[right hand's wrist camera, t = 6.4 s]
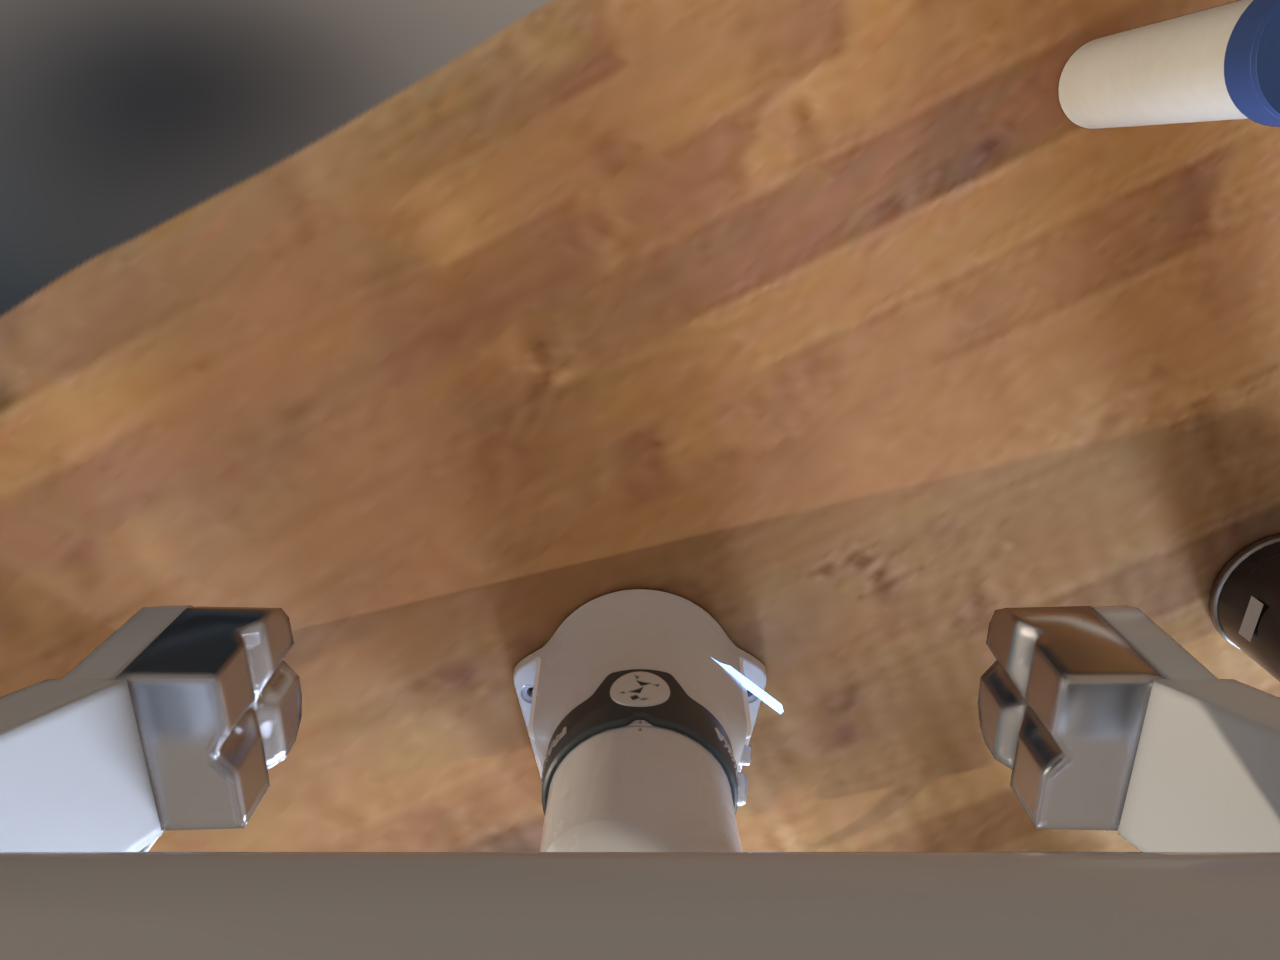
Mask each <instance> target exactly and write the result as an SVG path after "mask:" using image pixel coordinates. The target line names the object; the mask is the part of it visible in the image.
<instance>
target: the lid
mask: <svg viewBox="0 0 1280 960" xmlns="http://www.w3.org/2000/svg"><path fill="white" fill-rule="evenodd" d="M1224 78H1225V84H1226V88H1227V91H1228V94H1229V96H1230V98H1231V100H1232V102H1233V103H1234V105H1235V106H1236V107H1237V109H1238V110H1239V111H1240V112H1241V113H1242V114H1243V115H1245V116H1246V117H1247V118H1249V119H1251V120H1252V121H1254V122H1257V123H1259V124H1262V125H1267V126H1274V127H1280V0H1253V1H1252V2H1251V3H1250V5H1249V6H1248V7H1247V8H1246V9H1245V11H1244V12H1243V13H1242V15H1241V16H1240V18H1239V20H1238V21H1237V23H1236V25H1235V27H1234V29H1233V31H1232V33H1231V35H1230V38H1229V41H1228V44H1227V48H1226V52H1225V58H1224Z"/></svg>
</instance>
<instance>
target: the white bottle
mask: <svg viewBox="0 0 1280 960" xmlns="http://www.w3.org/2000/svg"><path fill="white" fill-rule="evenodd" d="M1252 1H1253V0H1241V1H1237V2H1233V3H1229V4H1226V5H1222V6H1218V7H1214V8H1210V9H1207V10H1203V11H1199V12H1195V13H1192V14H1188V15H1184V16H1180V17H1177V18H1173V19H1169V20H1165V21H1161V22H1158V23H1154V24H1150V25H1146V26H1143V27H1139V28H1135V29H1131V30H1128V31H1124V32H1120V33H1116V34H1112V35H1109V36H1105V37H1101V38H1097V39H1094V40H1092V41H1090V42H1088V43H1086V44H1084V45H1083V46H1081V47H1080V48H1079V49H1078V50H1077V51H1076V52H1075V53H1074V54H1073V55H1072V56H1071V57H1070V59H1069V60H1068V61H1067V63H1066V65H1065V67H1064V69H1063V71H1062V74H1061V77H1060V81H1059V89H1058V93H1059V101H1060V104H1061V107H1062V109H1063V111H1064V113H1065V115H1066V116H1067V117H1068V118H1069V119H1070V120H1071V121H1072V122H1073V123H1075V124H1077V125H1078V126H1081V127H1084V128H1088V129H1100V128H1115V127H1130V126H1144V125H1159V124H1174V123H1188V122H1203V121H1218V120H1232V119H1247V117H1246V116H1245V115H1243V114H1242V113H1241V112H1240V111H1239V110H1238V109H1237V107H1236V106H1235V105H1234V103H1233V102H1232V100H1231V98H1230V96H1229V94H1228V91H1227V88H1226V84H1225V78H1224V58H1225V52H1226V48H1227V44H1228V41H1229V38H1230V35H1231V33H1232V31H1233V29H1234V27H1235V25H1236V23H1237V21H1238V20H1239V18H1240V16H1241V15H1242V13H1243V12H1244V11H1245V9H1246V8H1247V7H1248V6H1249V5H1250V3H1251V2H1252Z"/></svg>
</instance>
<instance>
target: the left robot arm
mask: <svg viewBox="0 0 1280 960" xmlns="http://www.w3.org/2000/svg"><path fill="white" fill-rule="evenodd" d="M1209 608H1210V616H1211V619H1212V622H1213V624H1214V626H1215V628H1216V629H1217V631H1218V632H1219V633H1220V634H1221V635H1222V636H1223V637H1224V638H1225V639H1226V640H1227V641H1229V642H1230V643H1231V644H1232V645H1234V646H1235V647H1237V648H1239V649H1241V650H1242V651H1243V652H1244V653H1246V654H1247V655H1248V656H1249V657H1250V658H1252V659H1253V660H1254V661H1255V662H1257V663H1258V664H1259V665H1260V666H1261V667H1262V668H1264V669H1265V670H1266V671H1267V672H1268V673H1270V674H1271V675H1272V676H1273V677H1275V678H1276V679H1277V680H1278V681H1280V534H1279V535H1274V536H1270V537H1267V538H1264V539H1262V540H1259V541H1257V542H1255V543H1253V544H1251V545H1249V546H1248V547H1246V548H1245V549H1243V550H1242V551H1240V552H1239V553H1238V554H1237V555H1235V556H1234V557H1233V558H1232V559H1231V560H1230V561H1229V562H1228V563H1227V564H1226V565H1225V567H1224V568H1223V569H1222V571H1221V572H1220V574H1219V575H1218V577H1217V579H1216V581H1215V583H1214V585H1213V588H1212V591H1211V595H1210V603H1209Z"/></svg>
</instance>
